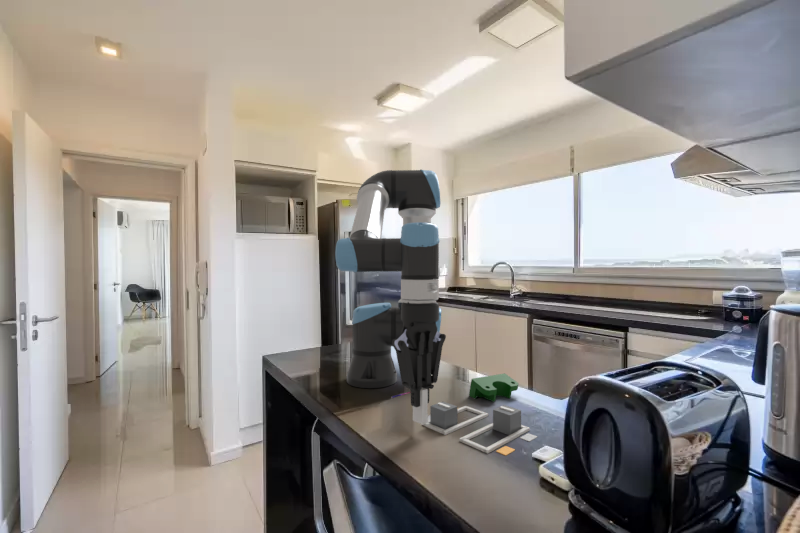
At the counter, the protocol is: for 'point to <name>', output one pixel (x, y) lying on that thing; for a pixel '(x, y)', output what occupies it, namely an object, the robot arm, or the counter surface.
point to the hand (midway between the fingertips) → (420, 421)
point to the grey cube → (506, 419)
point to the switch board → (466, 439)
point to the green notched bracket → (493, 386)
